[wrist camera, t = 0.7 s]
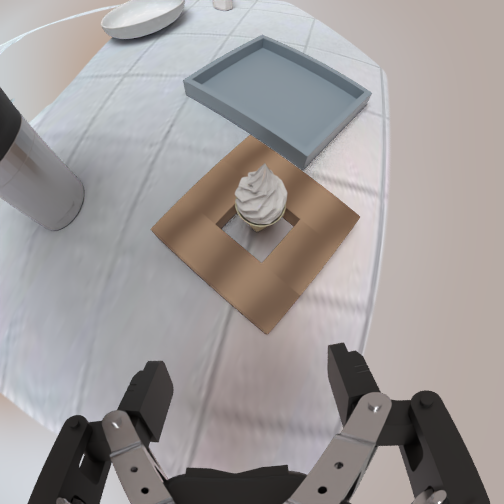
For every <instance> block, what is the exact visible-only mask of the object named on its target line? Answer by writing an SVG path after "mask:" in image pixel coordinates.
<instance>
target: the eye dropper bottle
mask: <svg viewBox="0 0 504 504" xmlns="http://www.w3.org/2000/svg"><path fill="white" fill-rule="evenodd" d="M213 6H214V8H216V9H218V10H223V11H227V10H230V9H232V0H213Z"/></svg>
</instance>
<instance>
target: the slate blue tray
mask: <svg viewBox="0 0 504 504" xmlns="http://www.w3.org/2000/svg"><path fill="white" fill-rule="evenodd" d="M183 82H184V87H185V92H186V95H187V96H189V97H191V98H192V99H194V100H196V101H198V102H199V103H201V104H203V105H205V106H206V107H208V108H210V109H211V110H213V111H215V112H216V113H218V114H220V115H221V116H223V117H224V118H226V119H228V120H229V121H231V122H233V123H234V124H236V125H237V126H239V127H240V128H242V129H243V130H245V131H247V132H248V133H250V134H251V135H253V136H254V137H256V138H257V139H259V140H260V141H262V142H263V143H265V144H266V145H268V146H269V147H271V148H272V149H273V150H275V151H276V152H278V153H279V154H281V155H282V156H283V157H285V158H286V159H288V160H289V161H290V162H292V163H293V164H295V165H296V166H297V167H299V168H300V169H301V170H304V169H305V168H306V167H307V166H308V165H309V164H310V162H311V161H312V160H313V159H314V158H315V157H316V156H317V155H318V154H319V153H320V152H321V151H322V150H323V149H324V148H325V147H326V146H327V145H328V144H329V143H330V142H331V141H332V140H333V139H334V138H335V137H336V136H337V135H338V134H339V133H340V132H341V131H342V129H343V128H344V127H345V126H346V125H347V124H348V123H349V122H350V121H351V120H352V119H353V118H354V117H355V116H356V115H357V114H358V113H359V112H360V111H361V110H362V109H363V108H364V107H365V106H366V104H367V102H368V100H369V98H370V96H371V94H372V93H371V92H370V91H368V90H367V89H365V88H364V87H362V86H361V85H359V84H357V83H356V82H354V81H353V80H351V79H349V78H348V77H346V76H344V75H343V74H341V73H339V72H338V71H336V70H334V69H332V68H330V67H329V66H327V65H325V64H323V63H321V62H319V61H318V60H316V59H314V58H312V57H310V56H308V55H306V54H304V53H302V52H300V51H298V50H296V49H294V48H291V47H289V46H287V45H285V44H283V43H280V42H278V41H276V40H273V39H271V38H269V37H266V36H264V35H261V36H259V37H257V38H255V39H253V40H251V41H249V42H247V43H245V44H243V45H241V46H240V47H238V48H236V49H234V50H232V51H230V52H229V53H227V54H225V55H223V56H222V57H220V58H218V59H216V60H215V61H213V62H211V63H210V64H208V65H206V66H205V67H203V68H202V69H200V70H198V71H197V72H195V73H194V74H192V75H191V76H189V77H188V78H186V79H185V80H183Z"/></svg>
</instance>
